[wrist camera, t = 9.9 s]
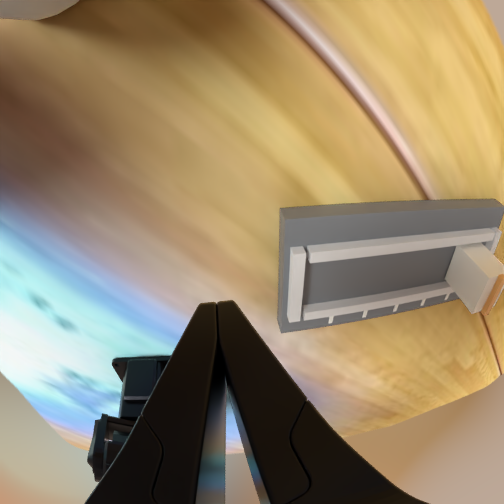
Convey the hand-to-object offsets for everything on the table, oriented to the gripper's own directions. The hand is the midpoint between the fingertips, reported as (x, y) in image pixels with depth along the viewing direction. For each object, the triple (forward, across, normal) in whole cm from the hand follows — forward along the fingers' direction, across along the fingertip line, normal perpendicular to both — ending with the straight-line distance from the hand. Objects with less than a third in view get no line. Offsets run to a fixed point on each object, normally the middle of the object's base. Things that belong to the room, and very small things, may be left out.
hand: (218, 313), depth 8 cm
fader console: (+12, -14, +8) cm, 20 cm away
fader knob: (+10, -20, +9) cm, 24 cm away
